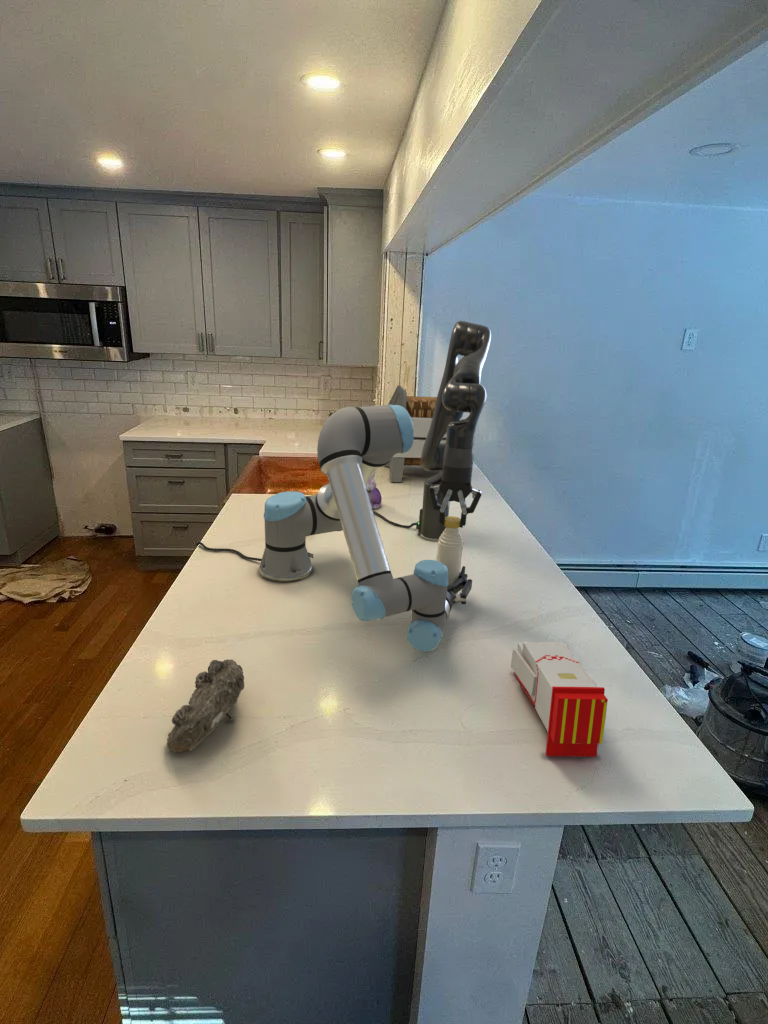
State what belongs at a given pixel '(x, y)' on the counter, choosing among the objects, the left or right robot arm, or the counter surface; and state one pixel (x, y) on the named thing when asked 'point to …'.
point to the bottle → (450, 553)
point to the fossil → (206, 705)
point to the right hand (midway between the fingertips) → (452, 525)
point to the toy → (562, 697)
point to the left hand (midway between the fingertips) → (450, 568)
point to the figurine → (373, 493)
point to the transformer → (421, 420)
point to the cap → (452, 522)
